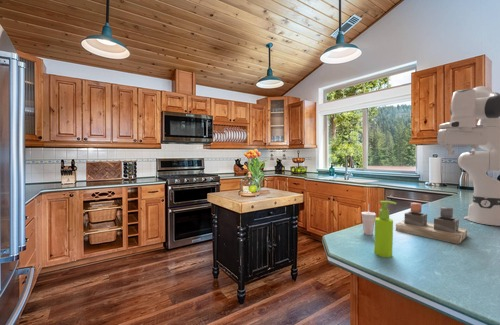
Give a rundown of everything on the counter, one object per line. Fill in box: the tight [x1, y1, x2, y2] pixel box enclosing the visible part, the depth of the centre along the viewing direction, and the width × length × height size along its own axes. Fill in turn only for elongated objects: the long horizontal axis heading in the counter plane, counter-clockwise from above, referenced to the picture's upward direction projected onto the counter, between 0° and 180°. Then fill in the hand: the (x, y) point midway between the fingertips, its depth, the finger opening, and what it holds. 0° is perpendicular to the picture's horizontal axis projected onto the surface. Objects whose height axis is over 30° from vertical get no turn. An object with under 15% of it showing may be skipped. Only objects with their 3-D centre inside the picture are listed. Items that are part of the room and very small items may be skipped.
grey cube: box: [439, 206, 454, 218], centre depth 112 cm, size 4×4×4 cm
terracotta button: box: [410, 202, 423, 213], centre depth 121 cm, size 4×4×4 cm
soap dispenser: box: [373, 200, 397, 258], centre depth 91 cm, size 6×7×20 cm
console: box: [395, 210, 468, 245], centre depth 117 cm, size 16×24×8 cm, turn 39°
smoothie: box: [360, 203, 377, 236], centre depth 115 cm, size 6×6×14 cm
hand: (461, 154), depth 113 cm, fingers open, 8 cm apart
